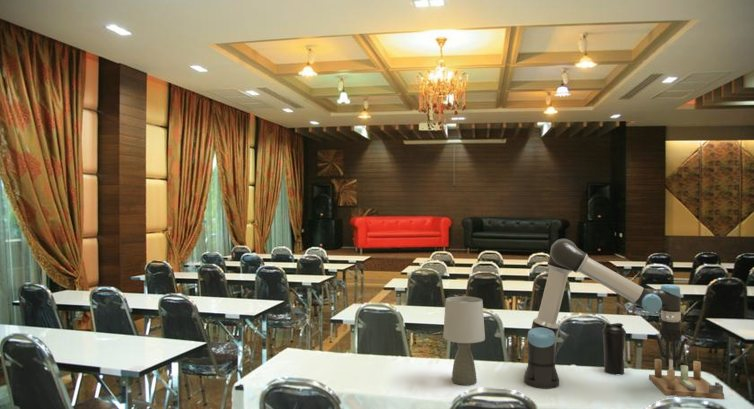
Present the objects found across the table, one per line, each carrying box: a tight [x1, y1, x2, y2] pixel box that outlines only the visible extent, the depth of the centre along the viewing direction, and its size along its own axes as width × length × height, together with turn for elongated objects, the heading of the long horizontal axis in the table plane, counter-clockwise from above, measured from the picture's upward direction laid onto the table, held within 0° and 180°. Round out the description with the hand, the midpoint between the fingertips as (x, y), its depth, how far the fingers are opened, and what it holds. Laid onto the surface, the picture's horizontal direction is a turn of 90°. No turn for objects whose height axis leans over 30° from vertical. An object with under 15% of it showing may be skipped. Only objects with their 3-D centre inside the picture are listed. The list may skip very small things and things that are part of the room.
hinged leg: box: [680, 364, 696, 391], centre depth 226 cm, size 11×3×7 cm, turn 169°
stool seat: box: [648, 358, 725, 400], centre depth 230 cm, size 22×22×10 cm
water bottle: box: [601, 322, 627, 376], centre depth 254 cm, size 10×10×23 cm
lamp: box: [442, 296, 486, 386], centre depth 240 cm, size 19×19×37 cm
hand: (671, 374), depth 233 cm, fingers closed
